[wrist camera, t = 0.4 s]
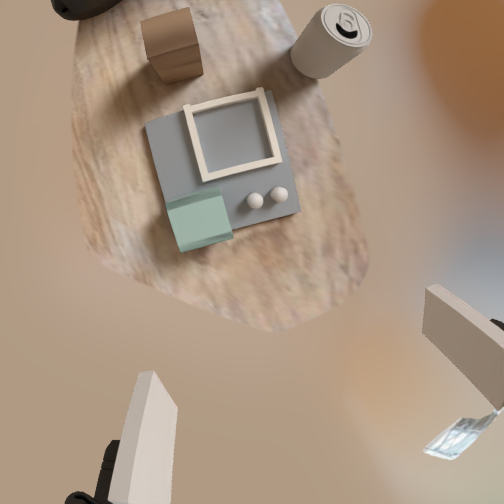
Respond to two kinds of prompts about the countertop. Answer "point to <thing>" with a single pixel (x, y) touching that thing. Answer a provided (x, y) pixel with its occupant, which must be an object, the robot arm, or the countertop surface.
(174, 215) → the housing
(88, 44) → the countertop surface
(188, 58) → the block
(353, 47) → the beverage can
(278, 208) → the jig board
